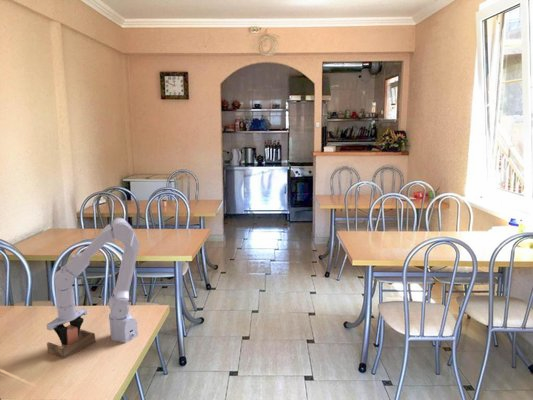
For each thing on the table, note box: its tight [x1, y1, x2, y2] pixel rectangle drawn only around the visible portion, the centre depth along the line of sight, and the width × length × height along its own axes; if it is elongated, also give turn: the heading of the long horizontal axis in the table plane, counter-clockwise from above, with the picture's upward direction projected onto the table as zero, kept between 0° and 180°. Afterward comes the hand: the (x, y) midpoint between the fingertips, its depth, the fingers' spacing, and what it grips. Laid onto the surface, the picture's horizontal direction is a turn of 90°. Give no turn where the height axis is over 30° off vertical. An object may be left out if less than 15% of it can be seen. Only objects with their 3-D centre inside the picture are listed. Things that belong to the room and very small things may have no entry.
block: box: [60, 324, 79, 347], centre depth 158 cm, size 4×4×6 cm
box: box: [46, 328, 96, 359], centre depth 158 cm, size 9×13×4 cm
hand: (70, 341), depth 158 cm, fingers closed on block, 4 cm apart
